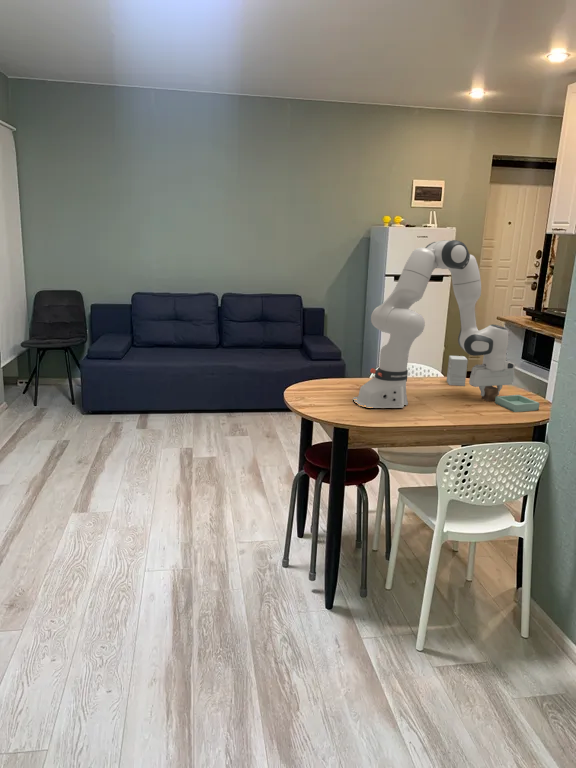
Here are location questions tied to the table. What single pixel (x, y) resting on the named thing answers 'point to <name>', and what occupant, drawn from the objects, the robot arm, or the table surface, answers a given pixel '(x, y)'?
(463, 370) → the supplement box
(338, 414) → the table surface
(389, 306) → the robot arm
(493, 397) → the walnut block
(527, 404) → the sage tray
